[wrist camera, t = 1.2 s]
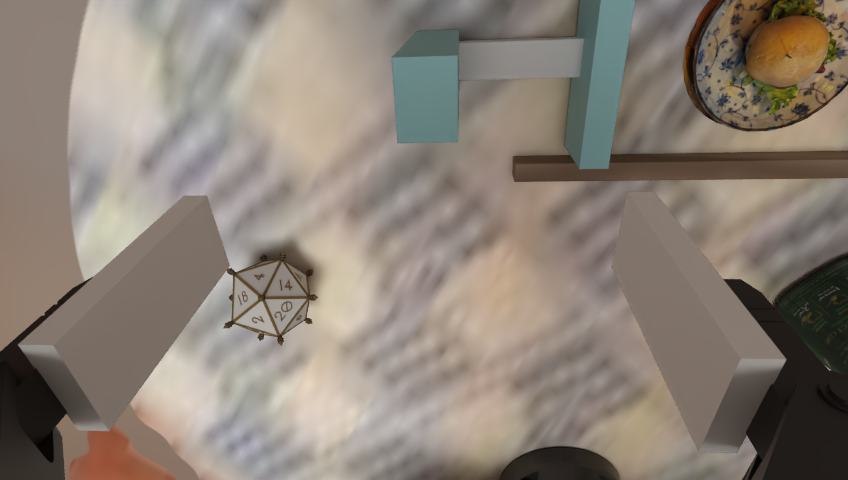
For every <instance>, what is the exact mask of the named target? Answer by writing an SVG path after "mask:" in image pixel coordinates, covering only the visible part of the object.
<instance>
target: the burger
mask: <svg viewBox="0 0 848 480" xmlns="http://www.w3.org/2000/svg"><path fill="white" fill-rule="evenodd" d="M690 34H691V36H690V35H689V37H691V38H688V42H687V45H686V48H685V55H684V63H683V69H684V81H685V84H686V88H687V91H688V94H689V96H690V98H691V100H692V101H693V103H694V105H695V106H696V107H697V108H698V109H699V110H700V111H701V112H702V113H703V114H704V115H705V116H706V117H708V118H710V119H711V120H713V121H715V122H716V123H719V124H724V125H726V126H728V127H731V128H733V129H737V130H742V131H772V130H775V129H778V128H782V127H787V126H789V125H793V124H795V123H797V122H800V121H802V120H804V119H806V118H808V117H809V116H811V115H812V114H814V113H815V112H817V111H819V110H820V109H822V108H823V107H824V106H826V105H827V104H828V103H829V102H830V101H831V100H832V99H833V98H834V97H836V96H837V95H838V94H839V93H840V92H841V91H842V90H843V89H844V88H845V87H846V86H847V85H848V0H710V1H709V2H708V3H707V5H706V7H705V8H704V9H703V10H702V11H701V13H700V15H699V17H698V20H697V24H696V28H695V29H694V30H693V32H692V33H690ZM689 40H690V42H689ZM688 43H689V44H688Z"/></svg>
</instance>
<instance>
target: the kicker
mask: <svg viewBox="0 0 848 480" xmlns="http://www.w3.org/2000/svg"><path fill="white" fill-rule="evenodd" d="M634 4H635V0H580V5H579V15H578V24H577V33H576V37H552V38H525V39H497V40H470V41H459V30H434V31H417V32H416V33H415V34H414V35H413V36H412V37H411V38H410V39H409V40H408V41H407V42H406V43H405V44H404V46H403V47H402V48H401V49H400V50H399V51H398V52H397V53H396V54H395V55H394V56H393V57H392V70H393V84H394V98H395V113H396V127H397V141H398V143H437V142H458V120H459V81H462V80H496V79H530V78H564V77H572V79H571V88H570V98H569V107H568V116H567V125H566V135H565V144H564V146H565V147H566V149H567V151H568V152H569V154H570V155H571V157H572V158H573V160H574V162H575V163H576V165H577V166H578V168H579V169H608V168H609V161H610V155H611V149H612V143H613V136H614V130H615V124H616V117H617V111H618V105H619V99H620V92H621V86H622V80H623V73H624V67H625V61H626V55H627V48H628V42H629V36H630V30H631V23H632V17H633V11H634Z"/></svg>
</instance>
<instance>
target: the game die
mask: <svg viewBox="0 0 848 480" xmlns="http://www.w3.org/2000/svg"><path fill="white" fill-rule="evenodd" d="M285 256H286V254H285V252H284V251H283V252H282V253H280V259H276V260H269V261H266V256H264V255H262V257H261V258H260V259H261V261H262V262H261V263H258V264H256V265H253V266H251V267H248V268H246V269H243V270H241V271H238V272H235V271H234V270H232V268H231V269H227V272H228V273H229V274H230V275H233V295H231V296H230V297H229V299H230V300H231V301H232V321H230V322H228V323H225V326H224V328H230V327H232V325H233V324H236V325H238V326H241V327H244V328H246V329H249V330H251V331H254V332H257V333H259V335H258V336H259V337H258V338H259V340H260V341H261V340H262V339H263V337H264V335H269V336H274V337H278V339H277V341H278V343H279V344H280V345H281V346H282V343H283V342H284V340H283V338H282V335H284V334H285V333H287V332H288V331H290V330H291V329H293V328H294V327H295V326H297V325H298V324H300V323H301V322H303V321H306V323H308V324H312V321H311V320H312V319H310V318H307V312H308V306H309V300H314V301H315V299H316V298H318V297H317V296H315V294H314V295H313V294H312V295H310V293H309V286H308V278H307V277H308V276H310V275H312V273H313V271H310V270H309V271H307V273H306V274H305V273H303V272H302V271H300V270H299V269H297V268H295V267H294V266H292V265H291V264H289V263H288V262H286V261H285V260H284V258H286V257H285Z"/></svg>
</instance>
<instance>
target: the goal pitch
mask: <svg viewBox="0 0 848 480" xmlns="http://www.w3.org/2000/svg"><path fill="white" fill-rule="evenodd" d="M512 173H513V177H514V181H515V182H538V181H628V180H717V179H806V178H848V151H814V152H750V153H686V154H623V155H610V161H609V168H608V169H579V168H578V166H577V165H576V163H575V162H574V160H573V158H572V157H571V155H559V156H513V171H512Z"/></svg>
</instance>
